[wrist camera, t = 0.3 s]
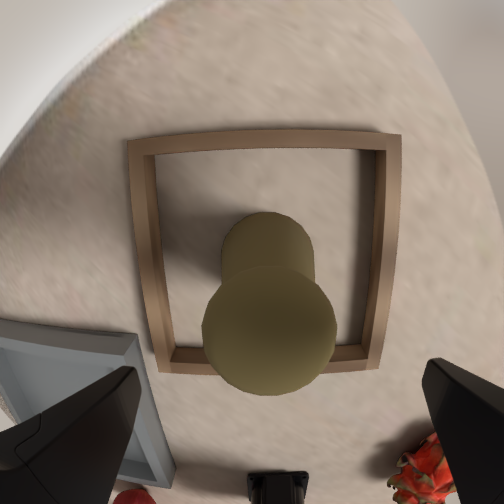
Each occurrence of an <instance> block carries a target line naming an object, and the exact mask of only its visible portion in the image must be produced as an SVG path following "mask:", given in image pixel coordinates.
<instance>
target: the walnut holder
mask: <svg viewBox="0 0 504 504" xmlns="http://www.w3.org/2000/svg"><path fill="white" fill-rule="evenodd" d="M127 147H128V165H129V180H130V193H131V204H132V214H133V224H134V232H135V241H136V249H137V256H138V263H139V270H140V277H141V283H142V290H143V296H144V302H145V307H146V313H147V318H148V324H149V329H150V334H151V339H152V344H153V348H154V353H155V358H156V362H157V366H158V371H159V372H163V373H178V374H196V375H219V374H218V373H217V372H216V371H215V370H214V369H213V367H212V366H211V364H210V362H209V360H208V358H207V356H206V354H205V352H204V348H183V347H176V345H175V339H174V333H173V327H172V320H171V314H170V307H169V300H168V293H167V286H166V278H165V270H164V262H163V253H162V244H161V235H160V225H159V214H158V202H157V189H156V174H155V156H154V155H159V154H170V153H182V152H195V151H210V150H228V149H253V148H336V149H362V150H375V203H374V225H373V241H372V254H371V266H370V277H369V287H368V296H367V304H366V312H365V320H364V327H363V334H362V341H361V344H357V345H343V346H335V349H334V353H333V354H332V356H331V358H330V360H329V362H328V364H327V366H326V367H325V369H324V370H323V371H322V372H321V373H320V374H324V373H339V372H351V371H362V370H372V369H378V368H379V364H380V359H381V354H382V349H383V344H384V339H385V333H386V327H387V322H388V316H389V309H390V303H391V296H392V289H393V281H394V273H395V264H396V255H397V244H398V233H399V219H400V201H401V169H402V141H401V135H399V134H388V133H376V132H361V131H342V130H306V129H275V130H239V131H220V132H205V133H192V134H181V135H170V136H161V137H152V138H144V139H136V140H129V141H127Z"/></svg>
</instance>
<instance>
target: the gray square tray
mask: <svg viewBox="0 0 504 504" xmlns="http://www.w3.org/2000/svg"><path fill="white" fill-rule="evenodd" d="M123 365H126V366H134V367H135V368H136V369H137V372H138V376H139V379H140V383H141V387H142V394H141V398H140V402H139V407H138V411H137V415H136V419H135V424H134V428H133V432H132V435H131V438H130V441H129V444H128V446H127V449H126V452H125V455H124V457H123V460H122V463H121V466H120V469H119V472H118V475H117V477H116V479H120V480H124V481H129V482H134V483H139V484H144V485H149V486H155V487H161V488H168V489H171V487H172V483H173V479H174V475H175V471H176V466H175V464H174V461H173V458H172V455H171V452H170V449H169V446H168V443H167V440H166V437H165V434H164V431H163V428H162V425H161V422H160V418H159V415H158V412H157V409H156V405H155V402H154V398H153V395H152V391H151V387H150V384H149V380H148V376H147V372H146V368H145V364H144V360H143V356H142V352H141V348H140V343H139V339H138V334H126V333H113V332H101V331H90V330H80V329H70V328H61V327H53V326H45V325H37V324H30V323H23V322H16V321H10V320H4V319H0V393H1V395H2V397H3V399H4V401H5V403H6V405H7V406H8V408H9V410H10V412H11V414H12V415H13V417H14V419H15V421H16V422H17V424H20V423H22V422H24V421H26V420H28V419H29V418H31V417H33V416H35V415H37V414H39V413H42V411H44V410H46V409H48V408H49V407H51V406H53V405H55V404H57V403H58V402H60V401H62V400H64V399H65V398H67V397H69V396H71V395H72V394H74V393H76V392H78V391H80V390H81V389H83V388H85V387H86V386H88V385H90V384H92V383H93V382H95V381H97V380H99V379H100V378H102V377H104V376H105V375H107V374H109V373H111V372H112V371H114V370H116V369H117V368H119V367H121V366H123Z"/></svg>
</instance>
